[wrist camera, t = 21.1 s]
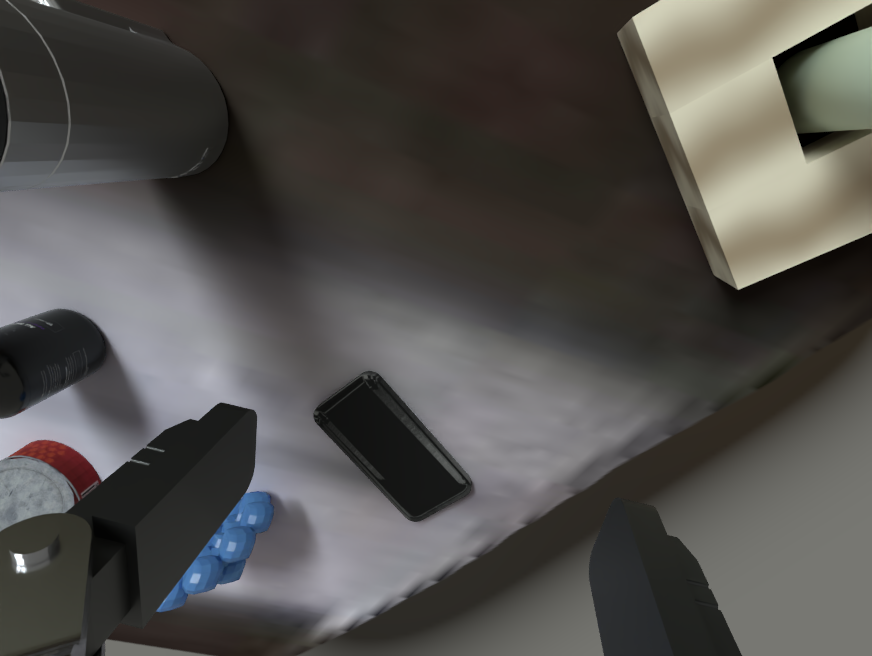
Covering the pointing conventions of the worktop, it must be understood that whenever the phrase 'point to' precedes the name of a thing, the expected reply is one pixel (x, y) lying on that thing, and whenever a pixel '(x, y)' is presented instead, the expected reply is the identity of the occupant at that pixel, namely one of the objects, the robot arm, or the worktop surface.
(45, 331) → the supplement bottle
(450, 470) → the phone
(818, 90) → the peg
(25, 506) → the canned food
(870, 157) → the socket block
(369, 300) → the worktop surface
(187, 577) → the grapes
